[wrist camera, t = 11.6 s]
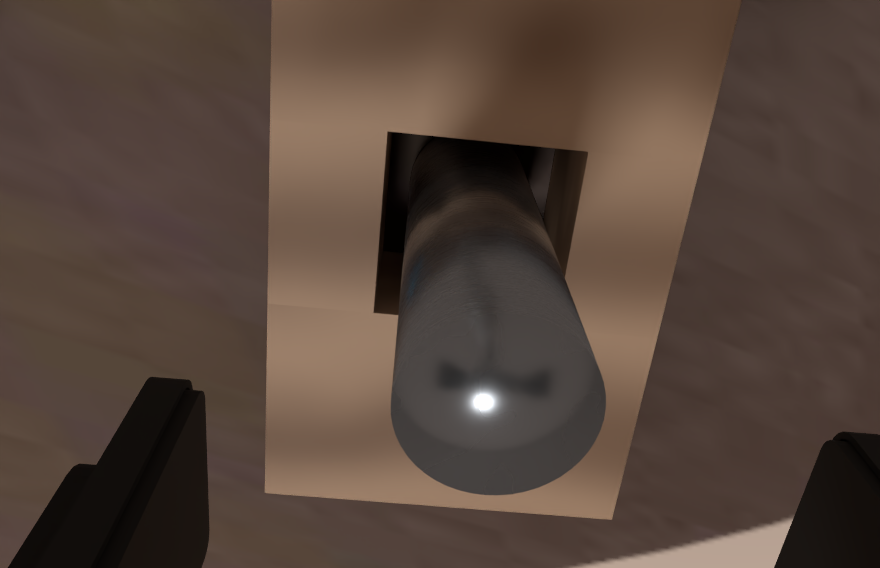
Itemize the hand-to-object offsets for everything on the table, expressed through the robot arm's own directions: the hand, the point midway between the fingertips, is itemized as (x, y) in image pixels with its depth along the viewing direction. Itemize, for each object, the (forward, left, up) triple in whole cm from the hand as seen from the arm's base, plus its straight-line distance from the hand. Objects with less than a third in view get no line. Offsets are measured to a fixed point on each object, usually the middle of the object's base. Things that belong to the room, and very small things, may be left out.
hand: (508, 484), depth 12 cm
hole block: (0, 0, -17) cm, 17 cm away
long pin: (+1, 0, -17) cm, 17 cm away
